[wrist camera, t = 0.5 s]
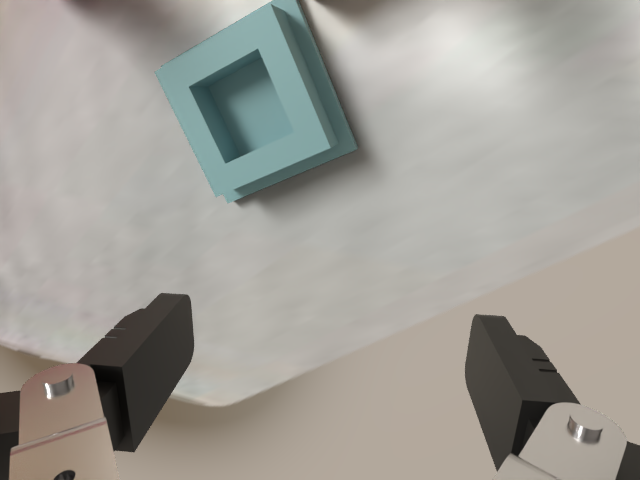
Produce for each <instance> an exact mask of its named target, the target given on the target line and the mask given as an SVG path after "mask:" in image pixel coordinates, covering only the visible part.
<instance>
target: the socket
mask: <svg viewBox="0 0 640 480" xmlns="http://www.w3.org/2000/svg"><path fill="white" fill-rule="evenodd" d="M161 67H162V68H160V69H159V70H157V71H155V74H156V76H157V78H158V80H159V82H160V84H161V87H162V89H163V91H164V93H165V95H166V97H167V99H168V101H169V103H170V105H171V107H172V109H173V111H174V113H175V115H176V117H177V119H178V121H179V123H180V125H181V127H182V129H183V131H184V133H185V135H186V137H187V139H188V141H189V143H190V145H191V147H192V150H193V152H194V154H195V156H196V158H197V160H198V162H199V164H200V166H201V168H202V170H203V172H204V174H205V176H206V178H207V180H208V182H209V184H210V186H211V188H212V190H213V192H214V194H215V196H216V197H217V196H220V195H222V194H223V195H224V197H225V199H226V201H227V203H230V202H232V201H235V200H237V199H240V198H242V197H244V196H247V195H249V194H252V193H254V192H256V191H259V190H261V189H264V188H266V187H268V186H271V185H273V184H275V183H278V182H280V181H283V180H285V179H287V178H290V177H292V176H295V175H297V174H299V173H302V172H304V171H307V170H309V169H311V168H314V167H316V166H319V165H321V164H323V163H326V162H328V161H331V160H333V159H335V158H338V157H340V156H343V155H345V154H347V153H350V152H352V151H354V150H356V149H358V147H357V144H356V142H355V139H354V137H353V134H352V132H351V129H350V127H349V124H348V122H347V119H346V117H345V114H344V112H343V109H342V107H341V104H340V102H339V99H338V97H337V94H336V92H335V89H334V87H333V85H332V82H331V80H330V77H329V75H328V72H327V70H326V67H325V65H324V62H323V60H322V57H321V55H320V52H319V50H318V47H317V45H316V42H315V40H314V37H313V35H312V32H311V30H310V28H309V25H308V23H307V20H306V18H305V15H304V13H303V10H302V8H301V5H300V3H299V0H273V1H271V2H269V3H268V4H266V5H264V6H262V7H261V8H259V9H257V10H256V11H254V12H252V13H251V14H249V15H247V16H245V17H244V18H242V19H240V20H239V21H237V22H235V23H234V24H232V25H230V26H228V27H227V28H225V29H223V30H222V31H220V32H218V33H217V34H215V35H213V36H211V37H210V38H208V39H206V40H205V41H203V42H201V43H200V44H198V45H196V46H194V47H193V48H191V49H189V50H188V51H186V52H184V53H183V54H181V55H179V56H177V57H176V58H174V59H172V60H171V61H169V62H167V63H166V64H164V65H162V66H161Z"/></svg>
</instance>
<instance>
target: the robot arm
mask: <svg viewBox="0 0 640 480" xmlns="http://www.w3.org/2000/svg"><path fill="white" fill-rule="evenodd" d="M193 351H194V335H193V322H192V309H191V300H190V297H189V296H188V295H185V294H169V293H161V294H159V295H158V296H157V297H156V298H155V299H154V300H153V301H152V302H151V303H150V304H149V305H148V306H147V307H146V308H145V309H139V310H137V311H135V312H133V313H131V314H129V315H127V316H125V317H124V318H123V319H122V320H121V321H120V322H119V323H118V324H117V325H116V326H115V327H114V329H111V330H110V331H109V332H108V333H107V334H106V335H105V338H102V339H101V340H100V341H99V342H98V343H97V344H96V345H95V346H94V347H93V348H92V349H90V350H89V351H88V352H87V353H86V354H85V355H84V356H83V357H82V358H81V359H80V360H79V361H78V362H77V363H69V364H62V365H58V366H54V367H51V368H48V369H46V370H43V371H41V372H39V373H38V374H36V375H34V376H33V377H31V378H30V379H29V380H28V381H27V382H25V384H24V385H23V386H22V388H21V391H14V392H6V393H0V480H120V479H119V474H118V469H117V465H116V461H115V456H114V451H115V450H116V451H128V452H135V450H136V449H137V447H138V445H139V444H140V442H141V441H142V439H143V437H144V436H145V434H146V433H147V431H148V430H149V428H150V426H151V425H152V423H153V421H154V420H155V418H156V417H157V415H158V413H159V412H160V410H161V409H162V407H163V406H164V404H165V403H166V401H167V399H168V398H169V396H170V395H171V393H172V391H173V390H174V388H175V387H176V385H177V383H178V382H179V380H180V379H181V377H182V375H183V374H184V372H185V371H186V369H187V368H188V366H189V364H190V362H191V359H192V356H193ZM465 378H466V384H467V388H468V391H469V394H470V396H471V399H472V402H473V405H474V408H475V410H476V414H477V416H478V419H479V422H480V425H481V428H482V430H483V433H484V436H485V439H486V442H487V444H488V447H489V450H490V453H491V456H492V459H493V461H494V464H495V467H496V470H497V473H496V475H495V476H494V478H493V480H640V446H639V445H636V444H633V443H630V442H628V441H627V440H626V436H625V434H624V432H623V431H622V429H621V428H620V427H619V426H618V425H617V424H616V423H615V422H614V421H613V420H611V419H610V418H609V417H607V416H606V415H604V414H602V413H601V412H599V411H597V410H594V409H592V408H589V407H587V406H584V405H581V404H580V403H579V401H578V400H577V398H576V397H575V395H574V394H573V393H572V391H571V390H570V388H569V387H568V386H567V384H566V383H565V381H564V380H563V378H562V377H561V376H560V374H559V373H557V370H556V368H555V367H554V365H553V364H552V363H551V362H550V361H549V358H548V357H547V355H546V354H545V353H544V351H543V350H542V348H541V347H540V346H538V345H537V344H536V343H534V342H533V341H532V340H530V339H529V338H528V337H526V336H522V335H516V333H515V331H514V330H513V328H512V327H511V325H510V324H509V322H508V320H507V319H506V318H505V317H504V316H493V315H478V314H476V315H475V316H474V318H473V321H472V326H471V332H470V338H469V345H468V351H467V357H466V364H465Z"/></svg>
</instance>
